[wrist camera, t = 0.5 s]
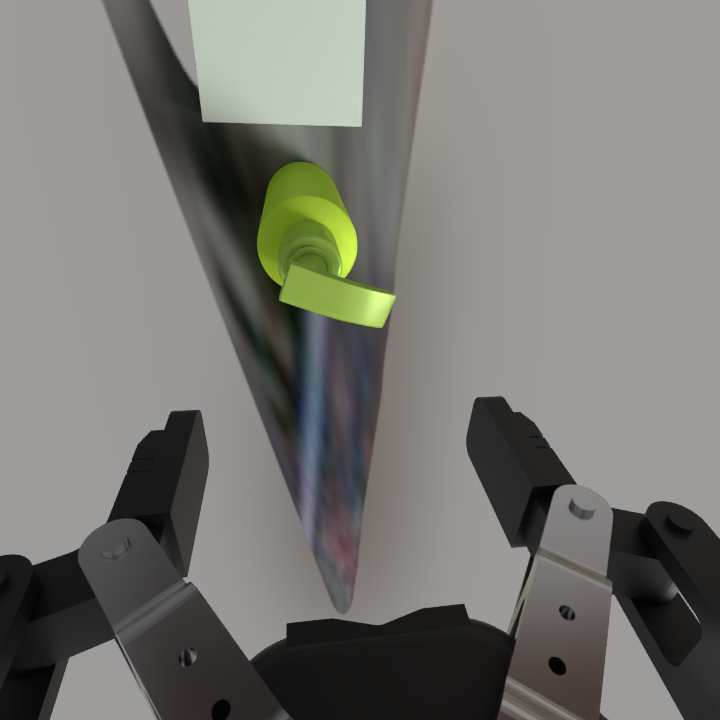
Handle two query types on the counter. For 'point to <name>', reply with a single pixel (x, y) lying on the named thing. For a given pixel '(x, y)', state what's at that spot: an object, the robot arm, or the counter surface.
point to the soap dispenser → (315, 248)
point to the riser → (279, 60)
